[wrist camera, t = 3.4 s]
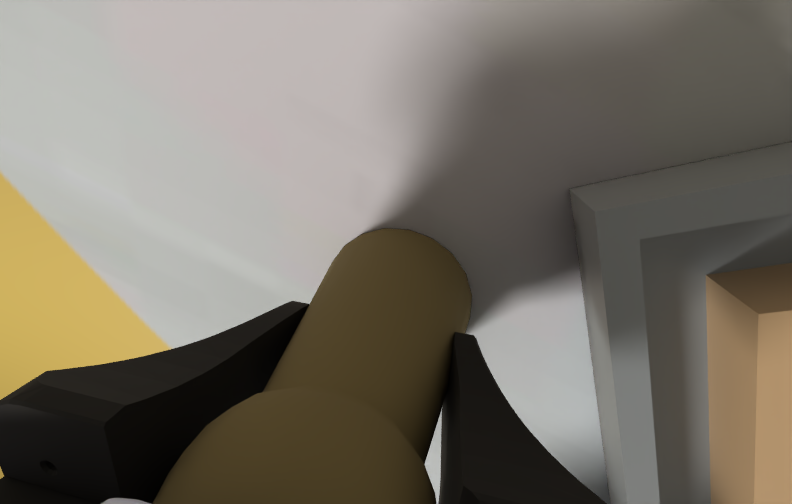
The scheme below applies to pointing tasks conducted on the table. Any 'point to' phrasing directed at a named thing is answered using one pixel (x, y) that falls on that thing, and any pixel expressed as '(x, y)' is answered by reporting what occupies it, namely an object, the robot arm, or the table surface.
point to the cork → (343, 389)
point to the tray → (692, 328)
